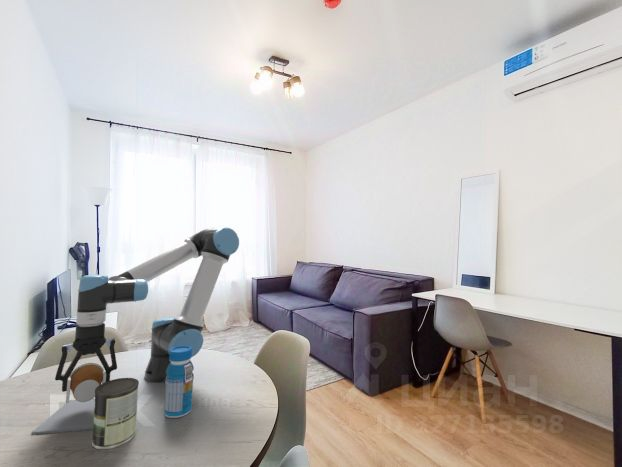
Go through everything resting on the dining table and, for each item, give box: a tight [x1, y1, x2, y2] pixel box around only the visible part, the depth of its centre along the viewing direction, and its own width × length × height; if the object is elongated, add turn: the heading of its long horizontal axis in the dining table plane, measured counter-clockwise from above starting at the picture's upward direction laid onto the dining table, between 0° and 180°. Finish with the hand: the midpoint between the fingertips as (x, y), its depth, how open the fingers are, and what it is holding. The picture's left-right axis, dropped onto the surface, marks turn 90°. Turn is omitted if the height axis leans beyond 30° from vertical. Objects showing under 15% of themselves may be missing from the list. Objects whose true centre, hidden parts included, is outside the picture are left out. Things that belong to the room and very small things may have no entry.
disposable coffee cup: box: [69, 362, 105, 402], centre depth 93 cm, size 10×10×12 cm
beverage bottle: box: [163, 346, 195, 419], centre depth 97 cm, size 8×8×20 cm
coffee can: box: [91, 377, 140, 450], centre depth 83 cm, size 10×10×14 cm
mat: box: [31, 397, 95, 436], centre depth 94 cm, size 18×18×1 cm
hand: (85, 397), depth 94 cm, fingers closed on disposable coffee cup, 8 cm apart
